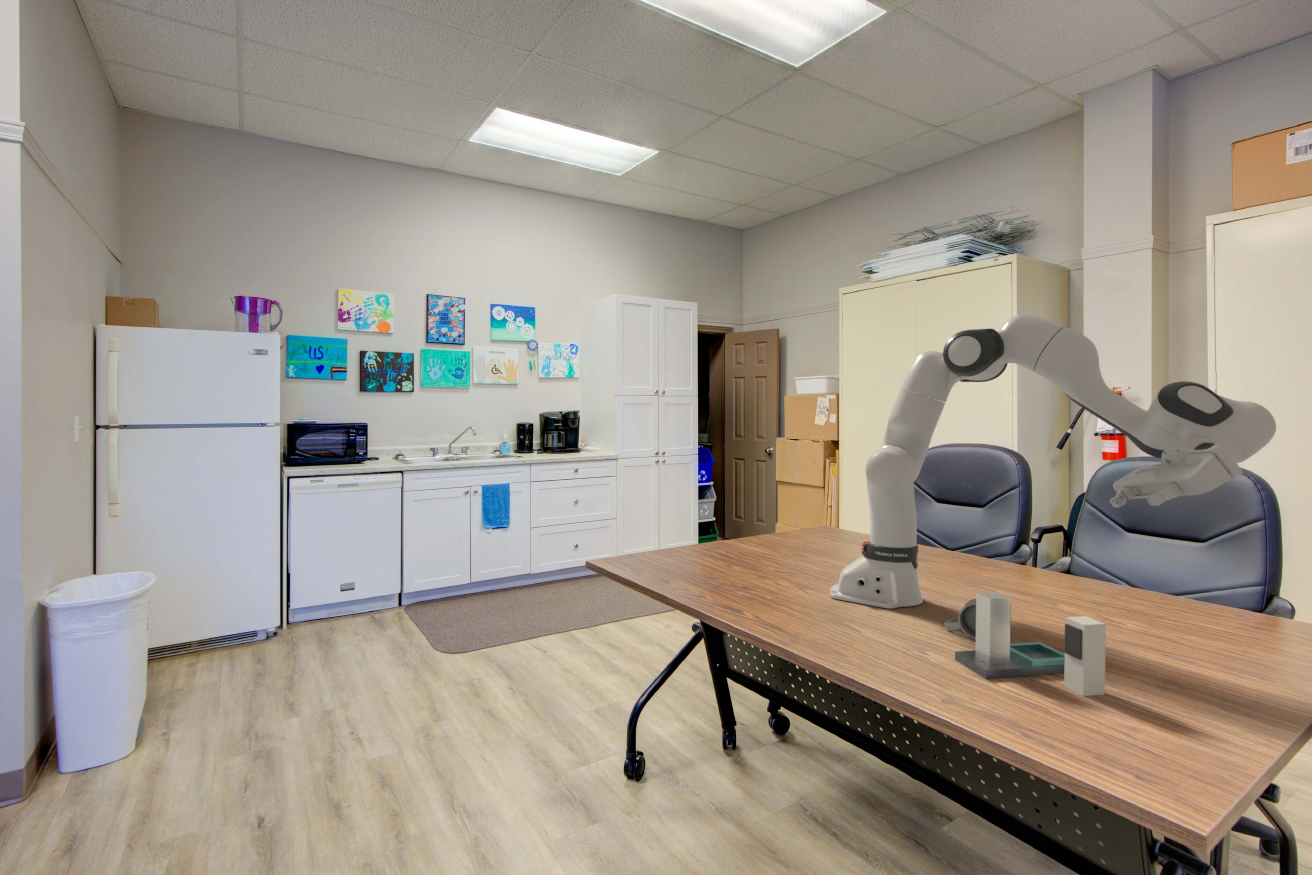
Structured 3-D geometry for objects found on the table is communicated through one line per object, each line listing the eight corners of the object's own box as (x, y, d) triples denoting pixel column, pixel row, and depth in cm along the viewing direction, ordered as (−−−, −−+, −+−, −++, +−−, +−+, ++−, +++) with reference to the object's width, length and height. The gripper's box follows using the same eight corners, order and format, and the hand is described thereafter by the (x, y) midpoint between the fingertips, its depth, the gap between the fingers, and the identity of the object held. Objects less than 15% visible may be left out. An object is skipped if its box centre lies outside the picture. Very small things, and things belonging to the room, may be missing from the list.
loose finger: (1080, 696, 103) (1082, 625, 103) (1062, 685, 107) (1063, 617, 107) (1104, 694, 104) (1105, 623, 104) (1084, 684, 108) (1086, 616, 108)
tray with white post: (985, 678, 110) (986, 603, 110) (954, 659, 119) (955, 589, 119) (1077, 672, 113) (1078, 599, 112) (1040, 653, 122) (1041, 585, 121)
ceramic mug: (1000, 631, 134) (1000, 596, 134) (999, 643, 127) (999, 606, 127) (947, 624, 140) (946, 590, 140) (942, 635, 133) (942, 599, 133)
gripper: (1139, 455, 126) (1084, 492, 126) (1227, 442, 106) (1162, 485, 106) (1159, 481, 126) (1104, 518, 125) (1252, 473, 105) (1186, 517, 105)
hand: (1131, 503), depth 115 cm, fingers open, 8 cm apart
